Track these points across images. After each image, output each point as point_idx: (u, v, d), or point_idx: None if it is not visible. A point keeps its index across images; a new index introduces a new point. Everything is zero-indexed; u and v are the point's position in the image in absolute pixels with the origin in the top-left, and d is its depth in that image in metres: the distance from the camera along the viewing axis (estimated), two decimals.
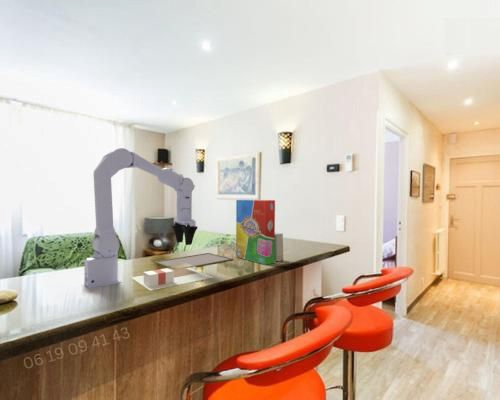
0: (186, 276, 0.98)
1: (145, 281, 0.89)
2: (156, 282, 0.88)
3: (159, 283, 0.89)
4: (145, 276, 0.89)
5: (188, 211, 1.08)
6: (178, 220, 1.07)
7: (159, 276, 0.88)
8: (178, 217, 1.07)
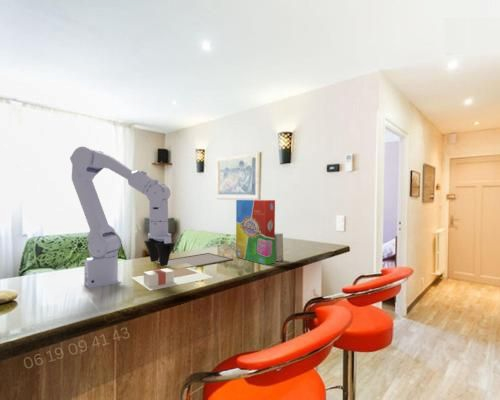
0: (186, 276, 0.98)
1: (145, 281, 0.89)
2: (156, 282, 0.88)
3: (159, 283, 0.89)
4: (145, 276, 0.89)
5: (163, 224, 0.89)
6: (151, 235, 0.88)
7: (159, 276, 0.88)
8: (151, 232, 0.89)
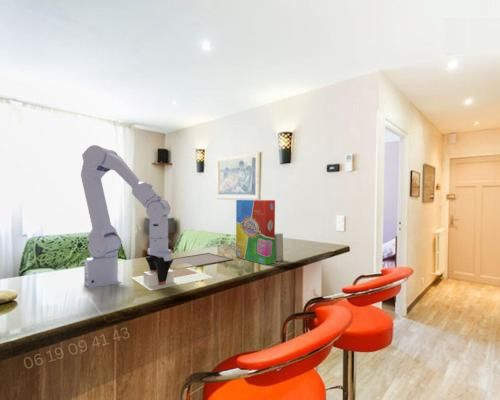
0: (186, 276, 0.98)
1: (145, 281, 0.89)
2: (156, 282, 0.88)
3: (159, 283, 0.89)
4: (145, 276, 0.89)
5: (163, 241, 0.89)
6: (151, 252, 0.88)
7: None
8: (151, 249, 0.89)
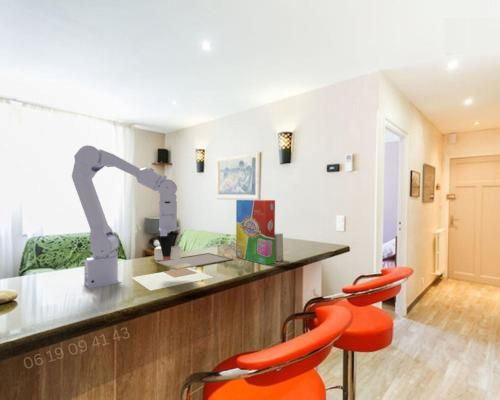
0: (186, 276, 0.98)
1: None
2: (161, 256, 0.93)
3: (164, 258, 0.93)
4: None
5: (167, 218, 0.93)
6: (159, 228, 0.95)
7: None
8: (159, 224, 0.95)
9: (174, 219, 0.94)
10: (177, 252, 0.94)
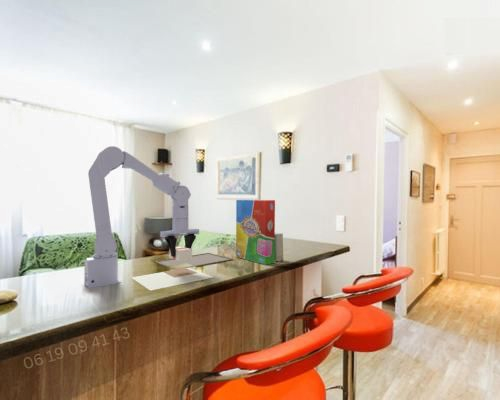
0: (186, 276, 0.98)
1: None
2: None
3: (173, 257, 1.02)
4: None
5: (174, 221, 1.01)
6: None
7: None
8: None
9: (179, 223, 1.01)
10: (178, 254, 0.99)
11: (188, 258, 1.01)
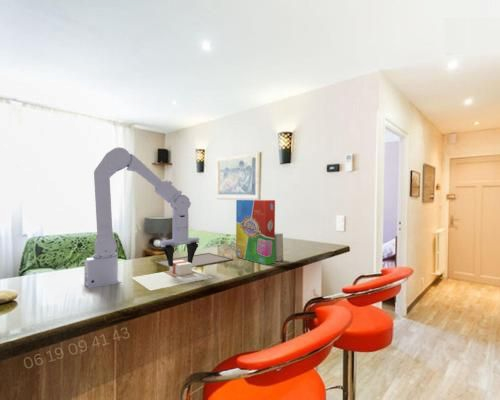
0: (186, 276, 0.98)
1: None
2: (172, 269, 1.03)
3: (173, 271, 1.02)
4: None
5: (174, 230, 1.01)
6: None
7: (173, 265, 1.03)
8: None
9: (179, 232, 1.01)
10: (178, 269, 0.99)
11: (188, 272, 1.01)
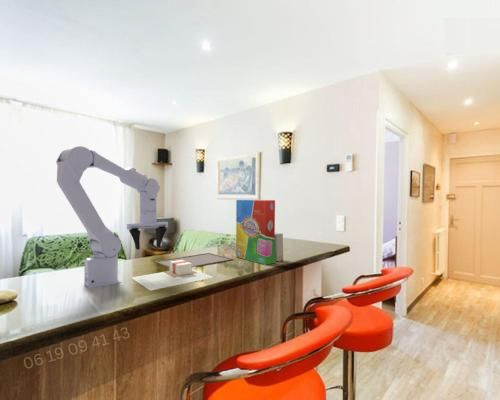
0: (186, 276, 0.98)
1: None
2: (172, 269, 1.03)
3: (173, 271, 1.02)
4: None
5: (141, 214, 1.02)
6: None
7: (173, 265, 1.03)
8: None
9: (146, 215, 1.01)
10: (178, 269, 0.99)
11: (188, 272, 1.01)
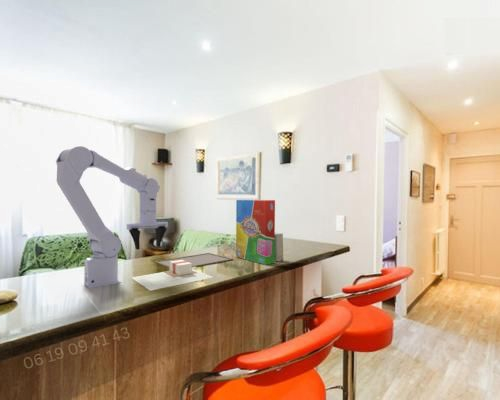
0: (186, 276, 0.98)
1: None
2: (172, 269, 1.03)
3: (173, 271, 1.02)
4: None
5: (140, 214, 1.02)
6: None
7: (173, 265, 1.03)
8: None
9: (146, 215, 1.01)
10: (178, 269, 0.99)
11: (188, 272, 1.01)
